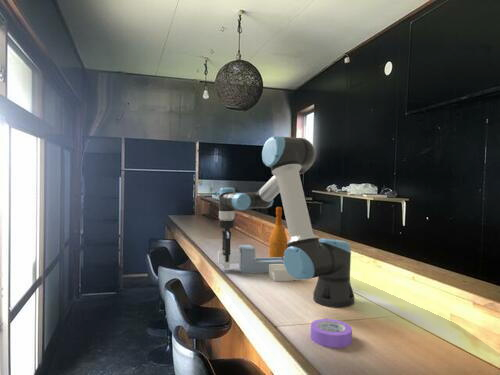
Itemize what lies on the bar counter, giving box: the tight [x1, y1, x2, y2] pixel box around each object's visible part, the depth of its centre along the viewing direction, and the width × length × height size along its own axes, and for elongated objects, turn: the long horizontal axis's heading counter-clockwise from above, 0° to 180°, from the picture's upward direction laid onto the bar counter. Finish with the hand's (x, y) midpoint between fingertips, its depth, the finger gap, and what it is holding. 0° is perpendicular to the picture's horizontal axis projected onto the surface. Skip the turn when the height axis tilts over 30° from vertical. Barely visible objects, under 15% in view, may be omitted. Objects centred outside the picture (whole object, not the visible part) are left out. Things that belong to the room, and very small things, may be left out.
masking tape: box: [310, 318, 353, 349], centre depth 108 cm, size 12×12×4 cm
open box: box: [238, 244, 284, 274], centre depth 185 cm, size 10×22×12 cm, turn 101°
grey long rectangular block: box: [217, 249, 257, 265], centre depth 183 cm, size 18×6×6 cm, turn 101°
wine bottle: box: [268, 206, 288, 260], centre depth 202 cm, size 10×10×30 cm
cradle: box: [268, 264, 299, 282], centre depth 172 cm, size 11×11×5 cm
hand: (225, 266), depth 182 cm, fingers closed on grey long rectangular block, 5 cm apart
